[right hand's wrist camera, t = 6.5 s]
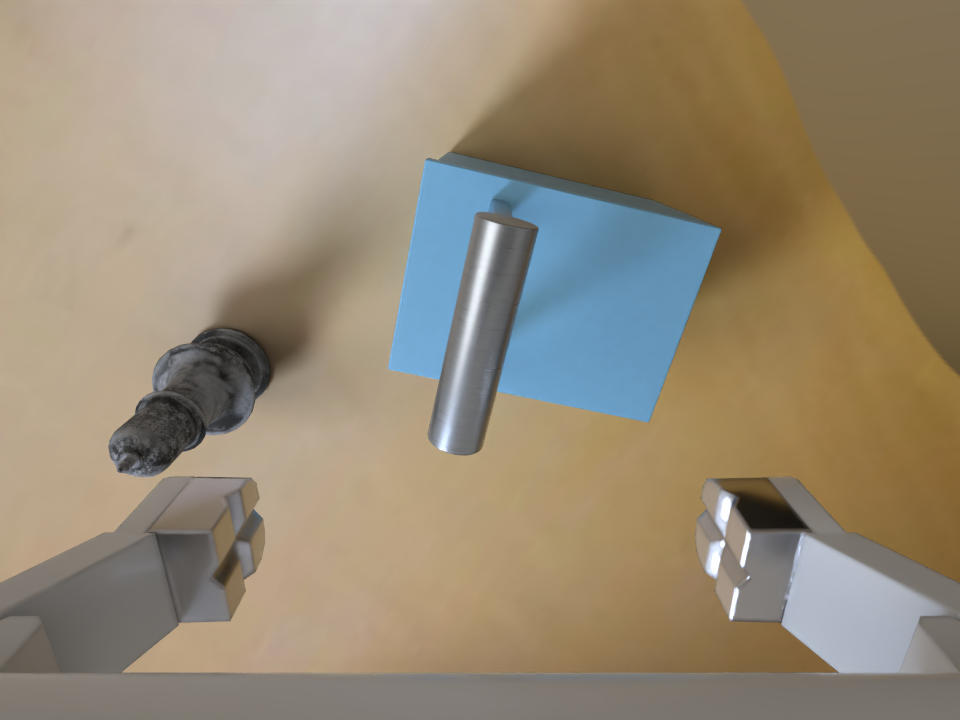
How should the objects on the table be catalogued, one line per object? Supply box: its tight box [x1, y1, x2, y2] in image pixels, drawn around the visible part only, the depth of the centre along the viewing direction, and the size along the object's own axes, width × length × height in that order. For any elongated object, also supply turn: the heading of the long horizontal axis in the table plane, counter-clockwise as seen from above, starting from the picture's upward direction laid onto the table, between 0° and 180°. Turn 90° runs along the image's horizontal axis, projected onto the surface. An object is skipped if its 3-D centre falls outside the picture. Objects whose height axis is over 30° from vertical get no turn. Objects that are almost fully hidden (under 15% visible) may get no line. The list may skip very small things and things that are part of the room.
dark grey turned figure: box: [109, 328, 270, 477], centre depth 31 cm, size 6×6×12 cm
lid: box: [388, 158, 721, 455], centre depth 22 cm, size 12×9×8 cm
